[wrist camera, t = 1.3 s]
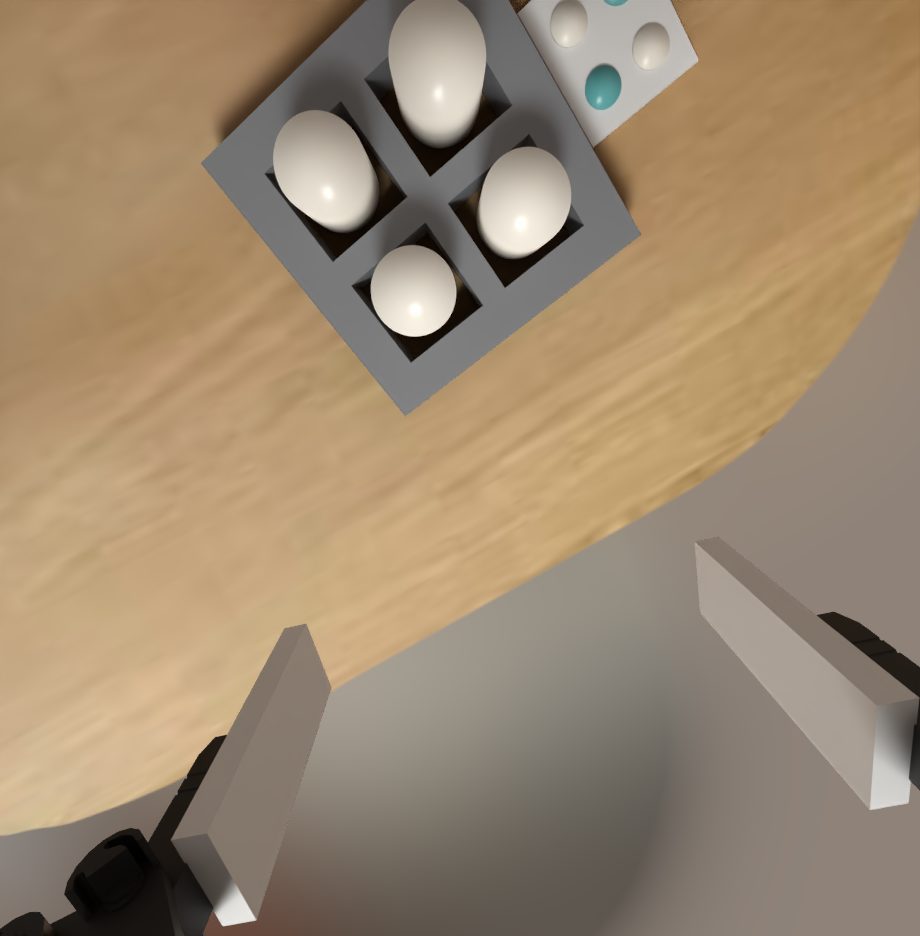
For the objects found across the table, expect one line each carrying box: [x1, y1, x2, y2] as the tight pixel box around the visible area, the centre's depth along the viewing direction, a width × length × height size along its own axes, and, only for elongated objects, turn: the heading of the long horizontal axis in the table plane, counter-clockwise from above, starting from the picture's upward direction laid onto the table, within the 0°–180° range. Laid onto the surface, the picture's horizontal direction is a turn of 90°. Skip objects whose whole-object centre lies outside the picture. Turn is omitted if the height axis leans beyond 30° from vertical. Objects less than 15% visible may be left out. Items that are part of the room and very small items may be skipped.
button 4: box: [476, 147, 571, 259], centre depth 31 cm, size 6×6×6 cm
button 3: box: [371, 245, 456, 337], centre depth 33 cm, size 6×6×6 cm
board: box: [201, 0, 641, 416], centre depth 34 cm, size 22×22×4 cm
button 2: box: [388, 0, 486, 148], centre depth 29 cm, size 6×6×6 cm
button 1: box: [273, 110, 380, 233], centre depth 30 cm, size 6×6×6 cm
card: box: [517, 0, 699, 149], centre depth 33 cm, size 10×9×1 cm
